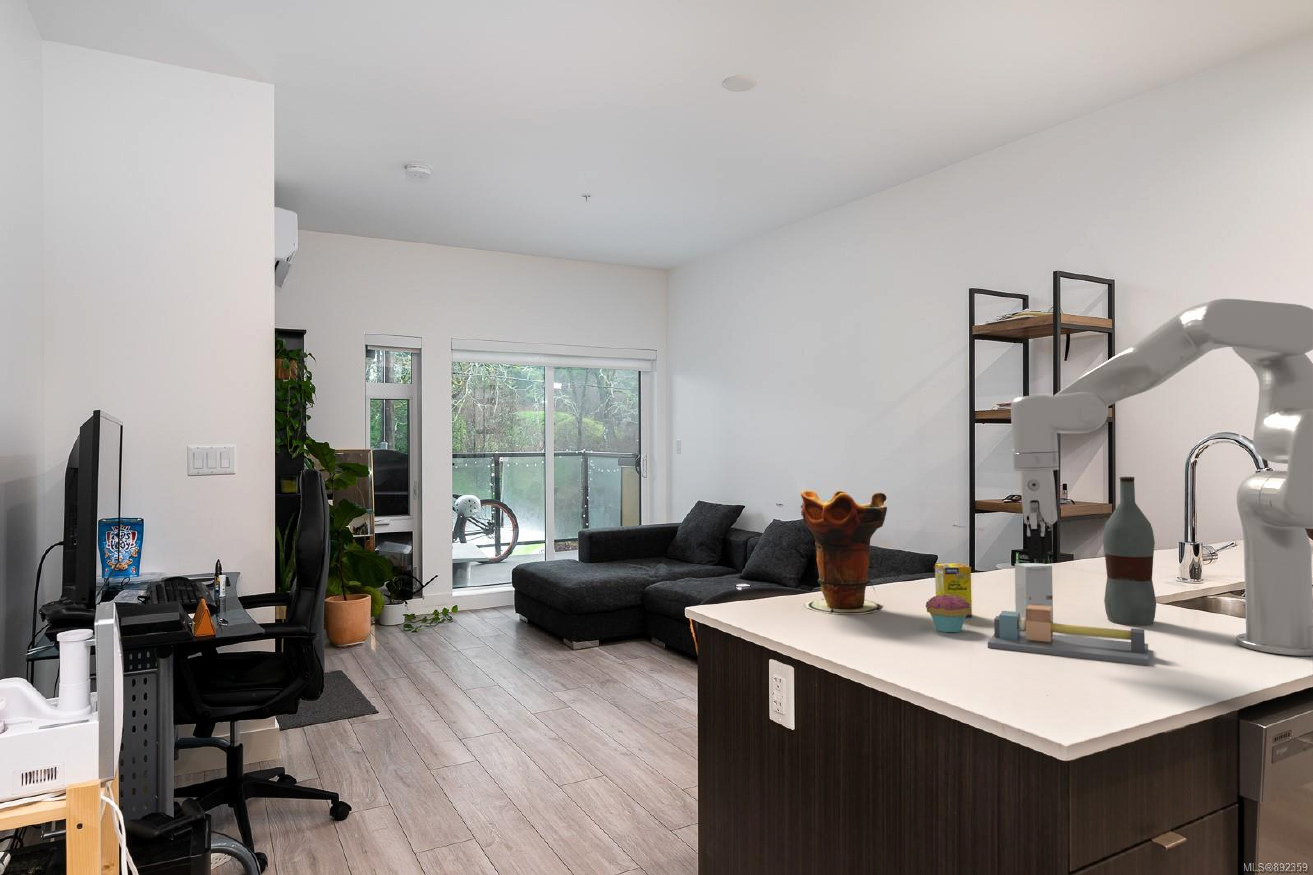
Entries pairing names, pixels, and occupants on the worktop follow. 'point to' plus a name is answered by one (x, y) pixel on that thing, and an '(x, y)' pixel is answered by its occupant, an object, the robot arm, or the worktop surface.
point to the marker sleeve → (1039, 622)
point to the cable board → (1071, 641)
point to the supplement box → (955, 581)
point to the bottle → (1129, 562)
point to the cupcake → (948, 610)
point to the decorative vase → (843, 549)
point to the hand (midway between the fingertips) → (1040, 554)
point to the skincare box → (1032, 586)
